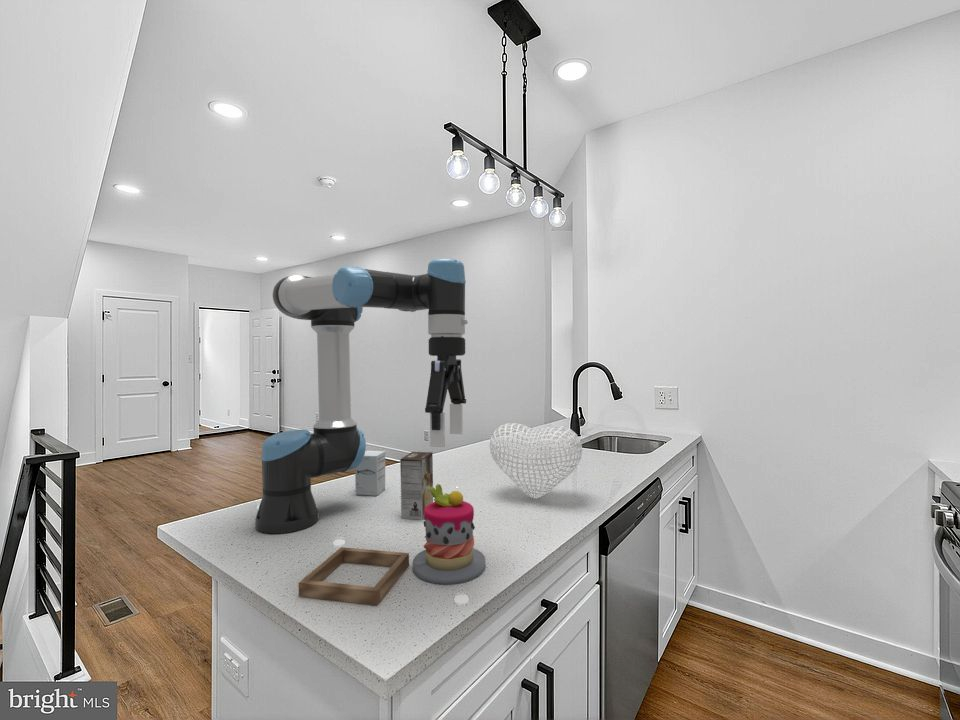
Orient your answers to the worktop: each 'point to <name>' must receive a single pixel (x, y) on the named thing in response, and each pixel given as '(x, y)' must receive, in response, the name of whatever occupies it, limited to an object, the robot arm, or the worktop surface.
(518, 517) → the worktop surface
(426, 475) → the coffee box
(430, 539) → the cake
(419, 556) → the plate
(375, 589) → the frame
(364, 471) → the supplement box
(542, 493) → the heart
